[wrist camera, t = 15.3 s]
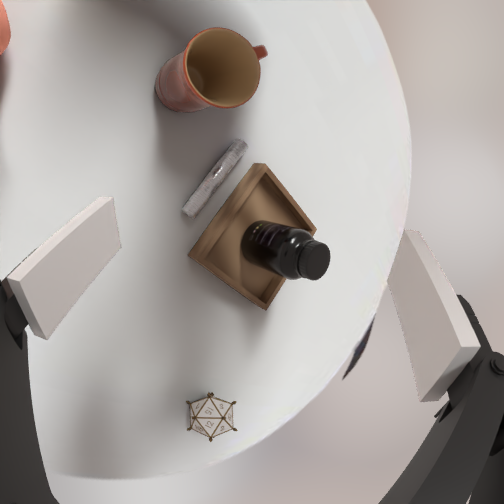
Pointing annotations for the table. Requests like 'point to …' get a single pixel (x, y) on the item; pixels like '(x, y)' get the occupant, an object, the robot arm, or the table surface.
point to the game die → (211, 416)
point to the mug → (211, 72)
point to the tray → (234, 225)
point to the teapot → (4, 29)
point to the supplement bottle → (285, 250)
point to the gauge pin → (214, 178)
